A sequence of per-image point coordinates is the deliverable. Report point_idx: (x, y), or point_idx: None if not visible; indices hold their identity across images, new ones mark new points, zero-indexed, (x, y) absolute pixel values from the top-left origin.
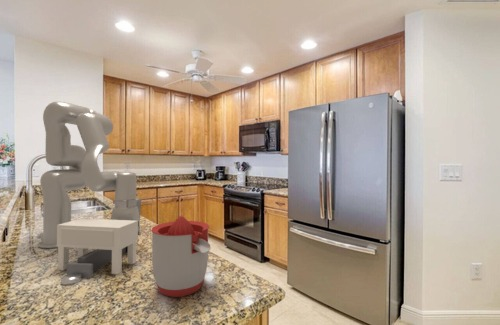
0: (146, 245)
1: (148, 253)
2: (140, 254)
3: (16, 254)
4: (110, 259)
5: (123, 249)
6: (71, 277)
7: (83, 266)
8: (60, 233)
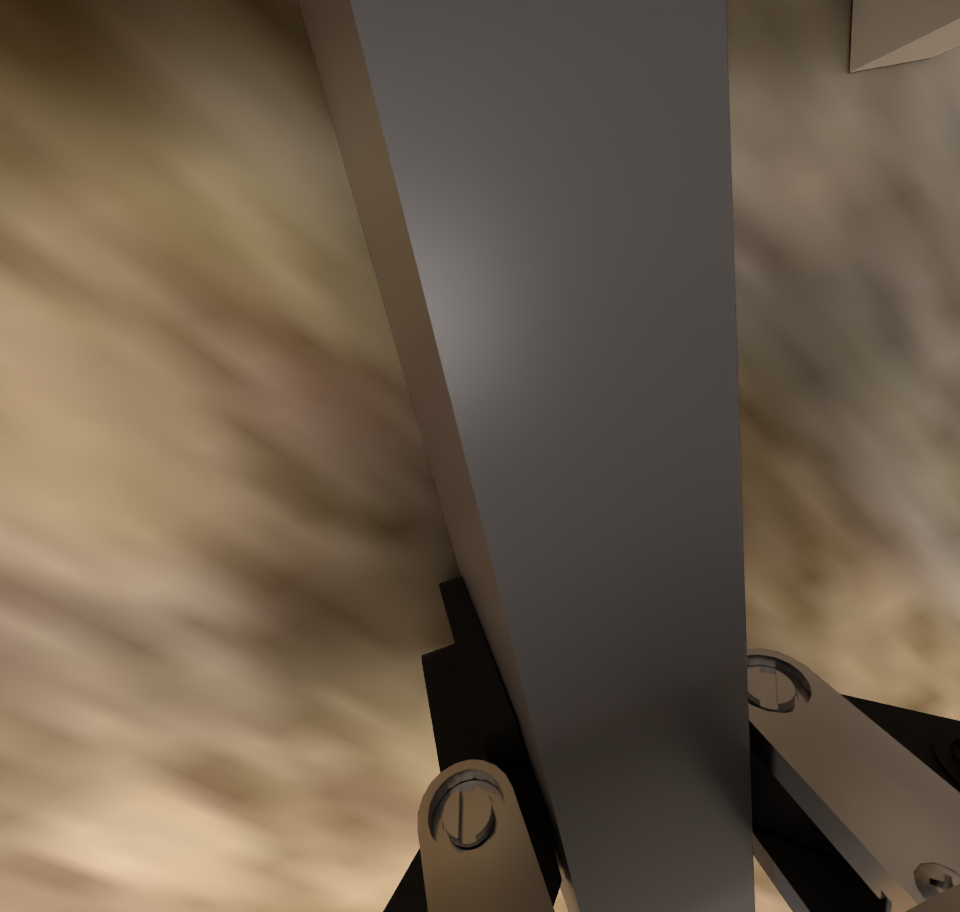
0: None
1: (33, 739)
2: (129, 639)
3: None
4: (321, 67)
5: (458, 544)
6: None
7: None
8: None
